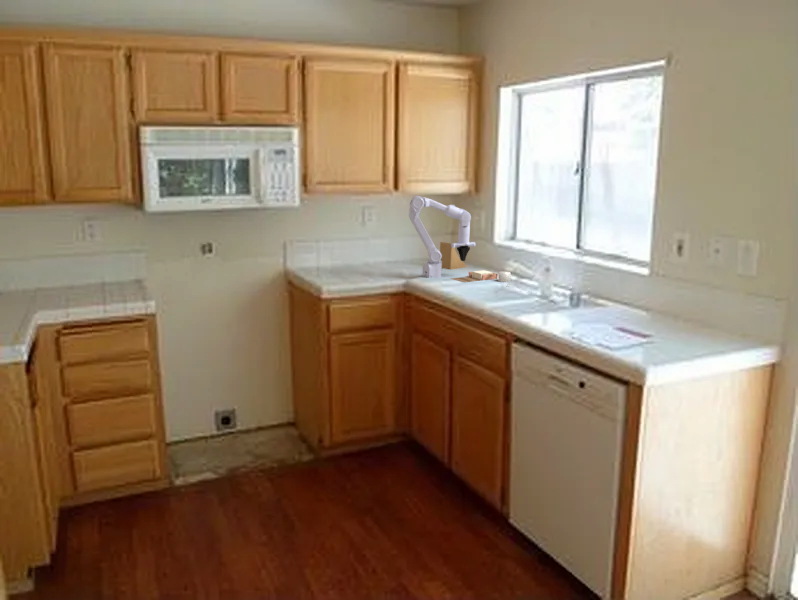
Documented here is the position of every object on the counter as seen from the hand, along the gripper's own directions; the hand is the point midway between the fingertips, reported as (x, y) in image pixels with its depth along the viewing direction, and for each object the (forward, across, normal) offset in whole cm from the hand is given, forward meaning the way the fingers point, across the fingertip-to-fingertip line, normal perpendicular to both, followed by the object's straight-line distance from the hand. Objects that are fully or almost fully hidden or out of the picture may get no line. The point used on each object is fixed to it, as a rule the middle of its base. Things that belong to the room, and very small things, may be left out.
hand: (462, 260), depth 350 cm
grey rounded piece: (+10, +12, -19) cm, 25 cm away
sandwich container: (+10, +21, +33) cm, 40 cm away
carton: (+8, +8, -7) cm, 13 cm away
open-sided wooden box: (+10, +2, -7) cm, 12 cm away
